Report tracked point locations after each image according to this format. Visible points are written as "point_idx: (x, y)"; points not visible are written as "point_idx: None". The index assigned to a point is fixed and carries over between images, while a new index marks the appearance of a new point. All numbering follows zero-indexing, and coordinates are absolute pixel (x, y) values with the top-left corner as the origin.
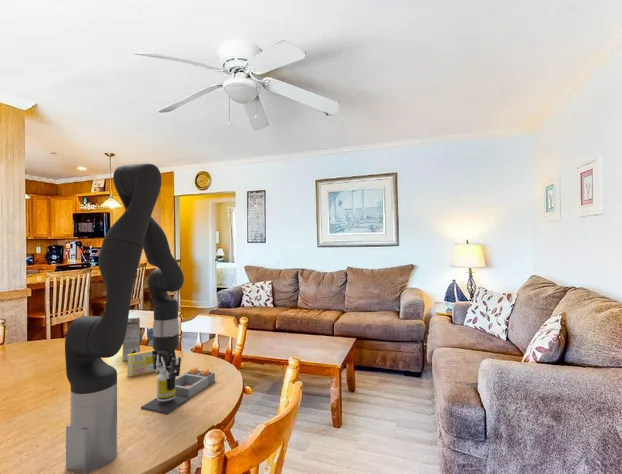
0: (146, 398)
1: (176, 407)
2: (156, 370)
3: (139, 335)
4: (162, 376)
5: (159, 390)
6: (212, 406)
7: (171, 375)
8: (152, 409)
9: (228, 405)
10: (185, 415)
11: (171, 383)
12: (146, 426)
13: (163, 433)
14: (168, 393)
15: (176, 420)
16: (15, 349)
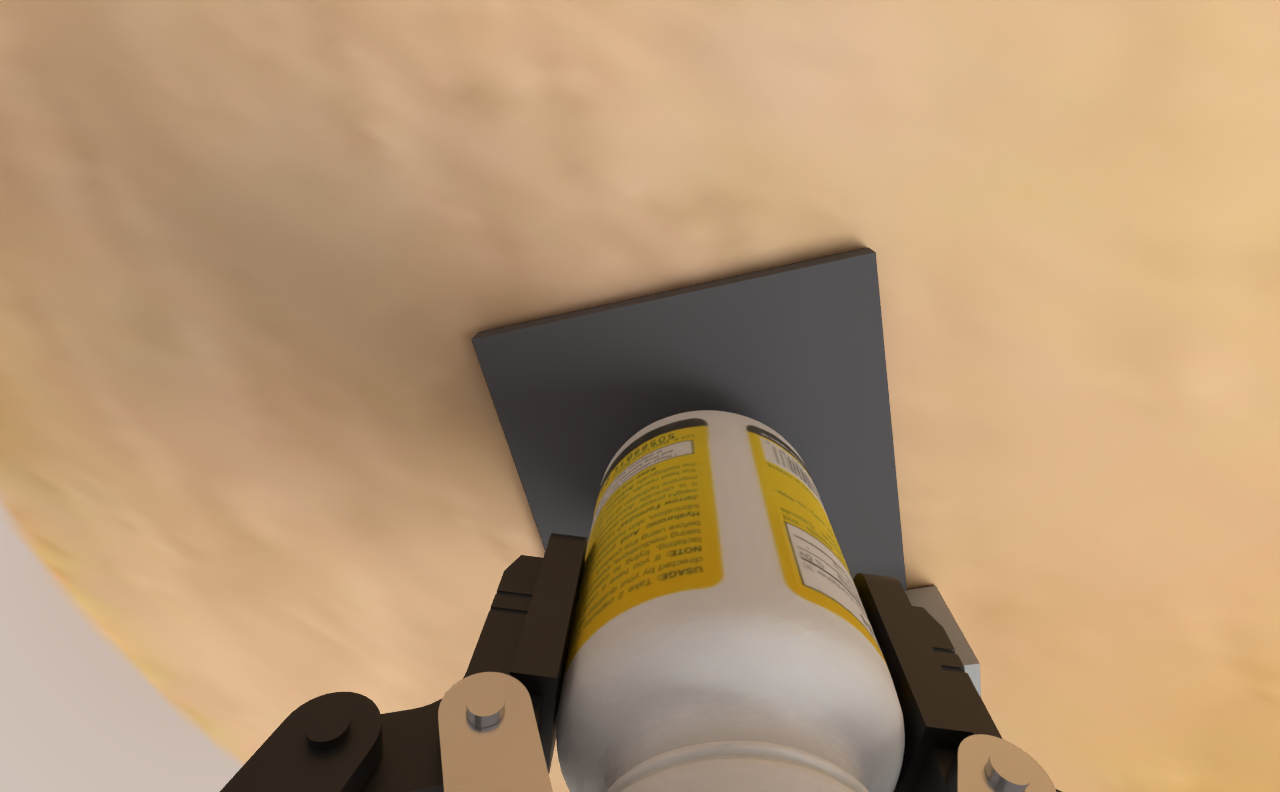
0: (1035, 433)
1: (519, 463)
2: (1035, 789)
3: None
4: (663, 681)
5: (695, 479)
6: (291, 632)
7: (286, 751)
8: (687, 293)
9: (209, 696)
10: (315, 418)
11: (485, 632)
12: (408, 29)
13: (108, 56)
14: (597, 519)
15: (284, 309)
16: None
